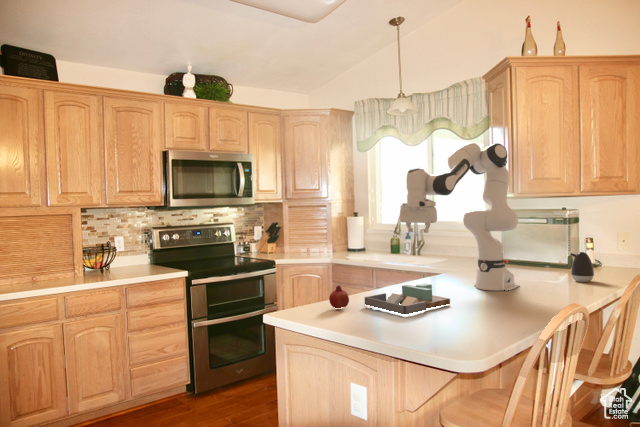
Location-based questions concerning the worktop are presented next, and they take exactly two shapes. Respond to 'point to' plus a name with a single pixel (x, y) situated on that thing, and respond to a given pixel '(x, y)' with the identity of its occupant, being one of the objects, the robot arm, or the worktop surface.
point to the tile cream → (409, 301)
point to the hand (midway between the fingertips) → (418, 232)
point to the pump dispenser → (582, 267)
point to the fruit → (339, 298)
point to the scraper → (418, 291)
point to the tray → (393, 304)
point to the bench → (432, 301)
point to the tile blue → (395, 298)
